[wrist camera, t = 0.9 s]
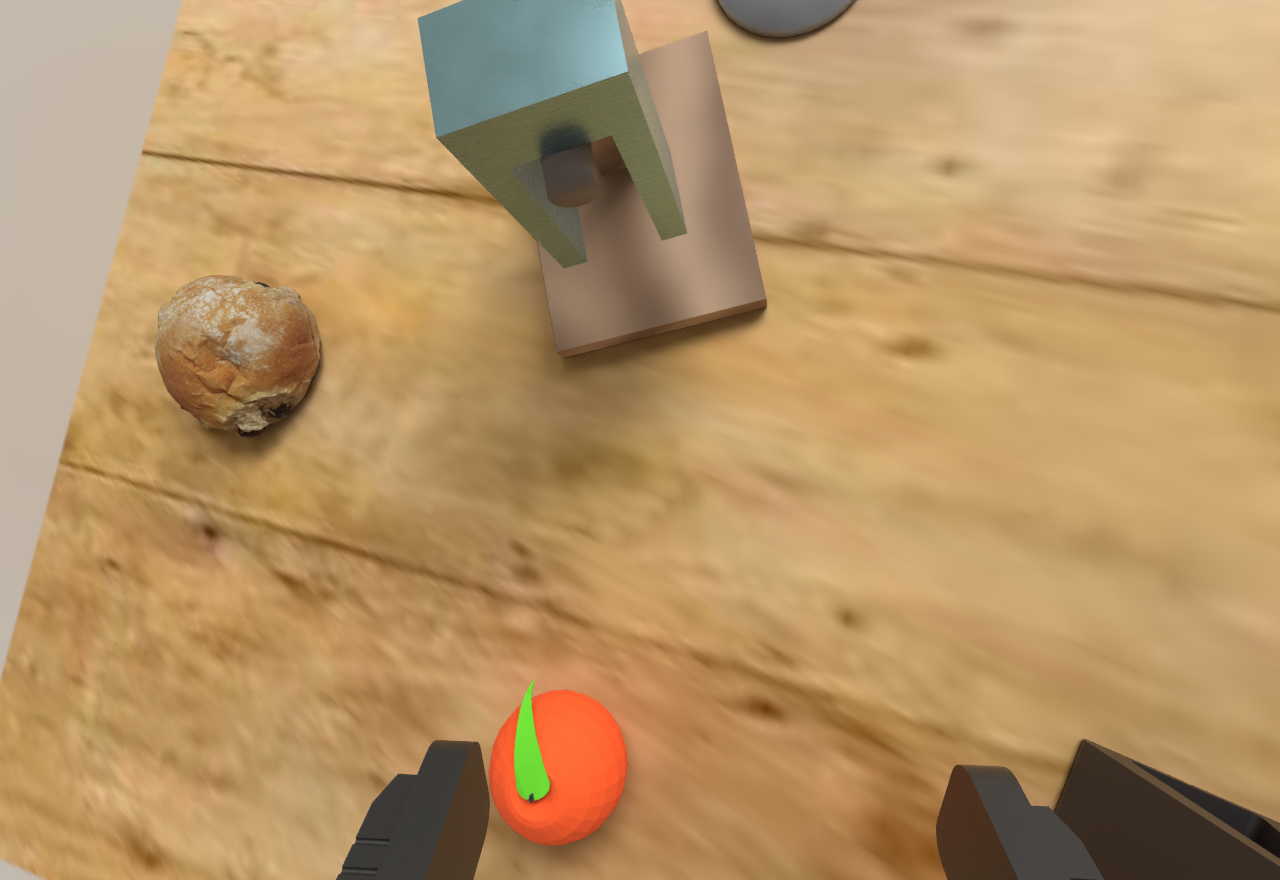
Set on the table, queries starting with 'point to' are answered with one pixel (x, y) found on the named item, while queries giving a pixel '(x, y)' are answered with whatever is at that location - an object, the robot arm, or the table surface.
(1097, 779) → the phone stand
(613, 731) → the clementine
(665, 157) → the c link
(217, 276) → the bread roll
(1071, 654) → the table surface
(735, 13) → the coaster
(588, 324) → the stand
